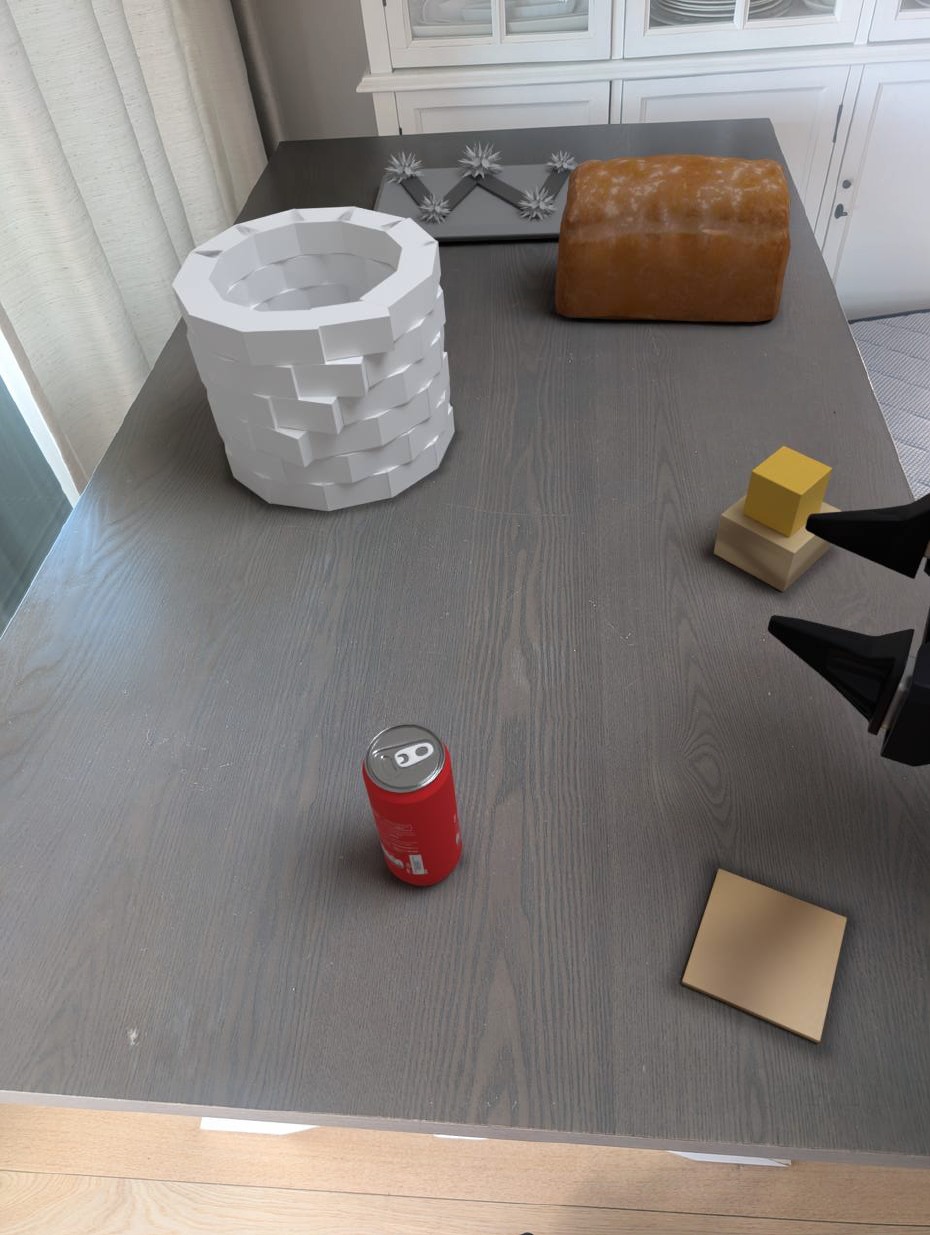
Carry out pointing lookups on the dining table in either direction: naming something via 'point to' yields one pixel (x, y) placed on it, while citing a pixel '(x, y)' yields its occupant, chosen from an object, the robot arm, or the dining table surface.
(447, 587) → the dining table surface
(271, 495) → the basket
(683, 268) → the bread
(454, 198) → the decorative plate
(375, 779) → the beverage can
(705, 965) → the cork coaster
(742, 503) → the birch block
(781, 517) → the mustard cube
